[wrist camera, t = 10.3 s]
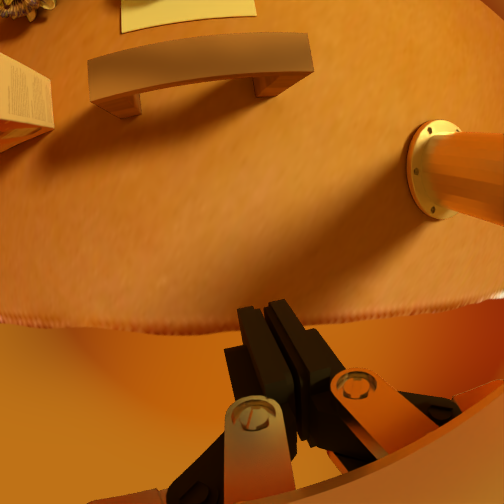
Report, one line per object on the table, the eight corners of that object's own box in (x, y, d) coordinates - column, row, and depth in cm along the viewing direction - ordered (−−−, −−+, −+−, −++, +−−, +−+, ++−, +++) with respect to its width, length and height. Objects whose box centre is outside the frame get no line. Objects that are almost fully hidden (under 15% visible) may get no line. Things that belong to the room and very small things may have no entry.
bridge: (117, 89, 23) (87, 60, 14) (272, 67, 25) (307, 33, 16) (120, 119, 24) (89, 101, 15) (276, 95, 26) (314, 71, 17)
